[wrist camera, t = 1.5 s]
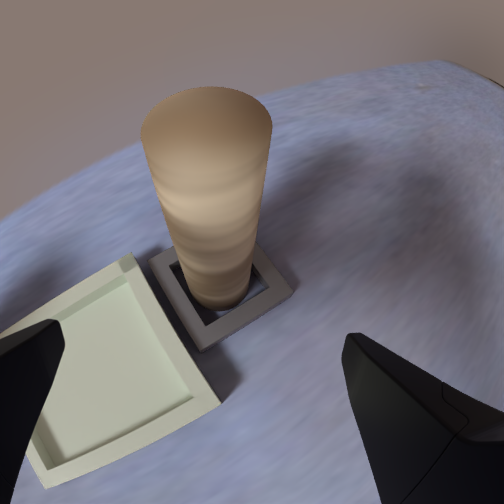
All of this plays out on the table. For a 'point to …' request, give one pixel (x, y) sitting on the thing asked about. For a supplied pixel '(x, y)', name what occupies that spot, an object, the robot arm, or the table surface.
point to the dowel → (210, 185)
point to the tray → (112, 375)
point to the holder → (231, 321)
